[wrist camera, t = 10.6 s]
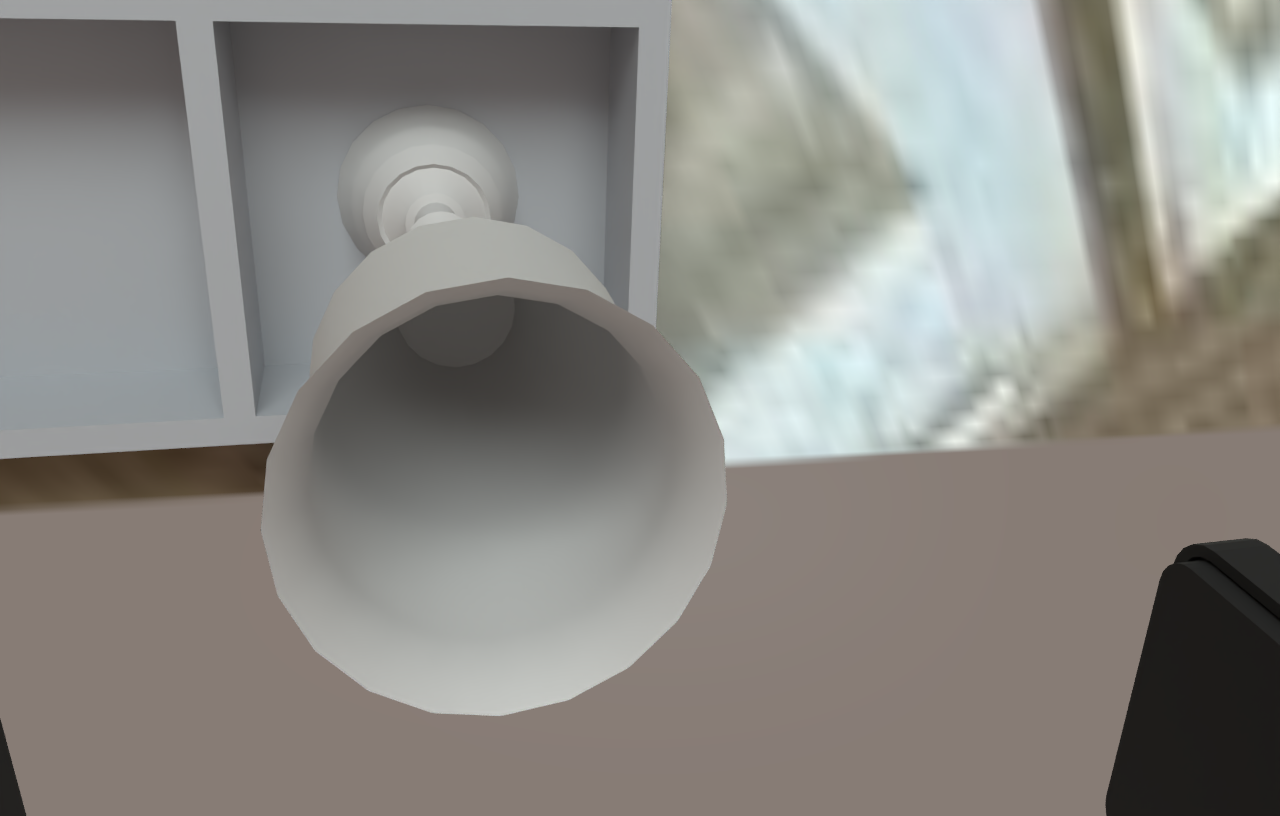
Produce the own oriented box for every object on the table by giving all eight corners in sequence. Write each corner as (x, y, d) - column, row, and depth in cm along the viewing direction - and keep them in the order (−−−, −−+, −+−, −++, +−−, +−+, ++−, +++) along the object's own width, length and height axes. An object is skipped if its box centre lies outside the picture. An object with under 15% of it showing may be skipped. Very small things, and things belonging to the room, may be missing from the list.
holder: (633, -23, 33) (672, -7, 29) (620, 360, 37) (651, 420, 33) (-284, -45, 28) (-390, -29, 24) (-162, 398, 33) (-234, 472, 29)
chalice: (545, 315, 35) (706, 696, 19) (311, 320, 34) (278, 737, 18) (552, 66, 32) (751, 274, 16) (296, 58, 31) (239, 280, 15)
